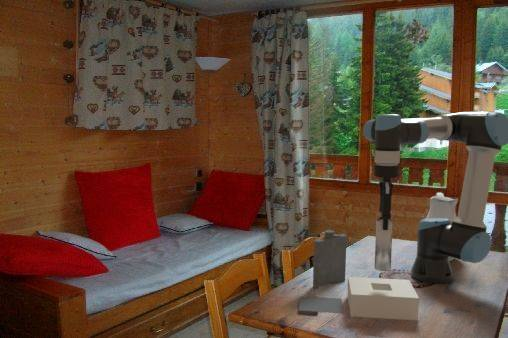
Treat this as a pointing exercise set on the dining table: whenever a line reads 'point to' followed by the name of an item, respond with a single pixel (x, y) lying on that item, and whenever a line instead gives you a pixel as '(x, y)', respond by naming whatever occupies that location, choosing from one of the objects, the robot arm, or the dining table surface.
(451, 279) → the robot arm
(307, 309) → the slate mat
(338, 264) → the hip flask
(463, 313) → the dining table surface
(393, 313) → the bore block
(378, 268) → the steel plug
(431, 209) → the pitcher
